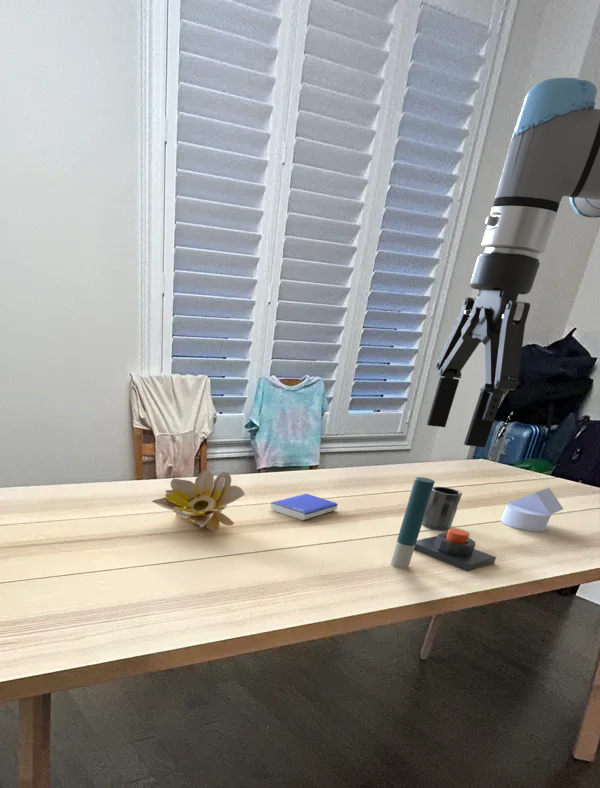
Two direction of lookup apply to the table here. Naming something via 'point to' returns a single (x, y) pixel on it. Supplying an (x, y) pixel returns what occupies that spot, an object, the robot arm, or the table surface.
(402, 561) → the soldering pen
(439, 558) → the station
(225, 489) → the decorative flower
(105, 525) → the table surface
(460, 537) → the power button
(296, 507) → the hard drive
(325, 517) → the table surface
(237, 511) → the table surface
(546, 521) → the wedge on round base
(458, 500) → the pen holder
